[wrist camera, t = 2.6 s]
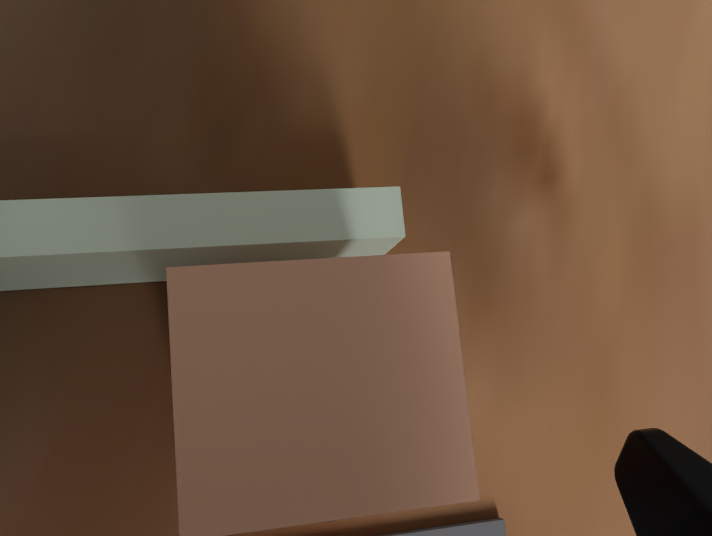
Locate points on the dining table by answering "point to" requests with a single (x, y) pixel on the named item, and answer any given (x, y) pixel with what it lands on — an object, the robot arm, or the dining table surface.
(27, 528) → the dining table surface
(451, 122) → the dining table surface
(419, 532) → the charcoal mat
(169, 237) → the bar
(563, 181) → the dining table surface
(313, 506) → the terracotta block
